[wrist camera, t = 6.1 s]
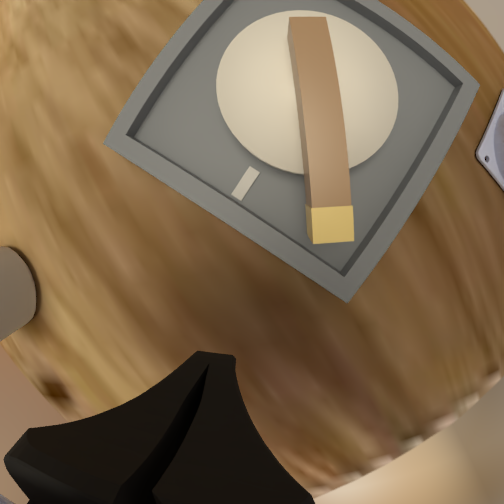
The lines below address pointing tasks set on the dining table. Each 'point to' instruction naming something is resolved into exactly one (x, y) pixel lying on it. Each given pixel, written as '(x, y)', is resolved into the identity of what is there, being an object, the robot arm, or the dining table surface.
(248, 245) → the dining table surface
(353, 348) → the dining table surface
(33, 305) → the can
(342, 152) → the dial
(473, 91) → the slate tray
